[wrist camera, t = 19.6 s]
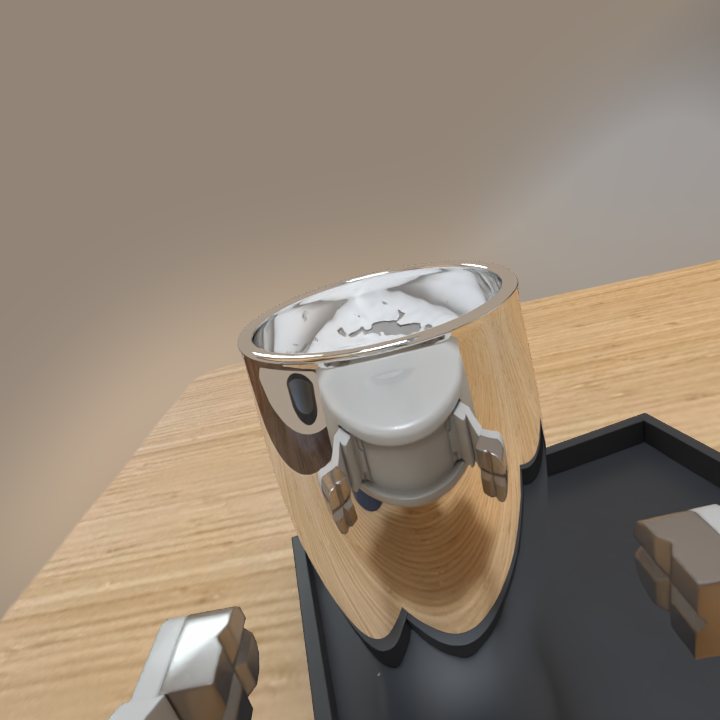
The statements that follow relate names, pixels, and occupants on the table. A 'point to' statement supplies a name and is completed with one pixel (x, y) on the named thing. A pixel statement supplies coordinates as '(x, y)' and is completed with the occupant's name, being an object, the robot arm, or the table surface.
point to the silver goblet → (417, 477)
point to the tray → (571, 588)
